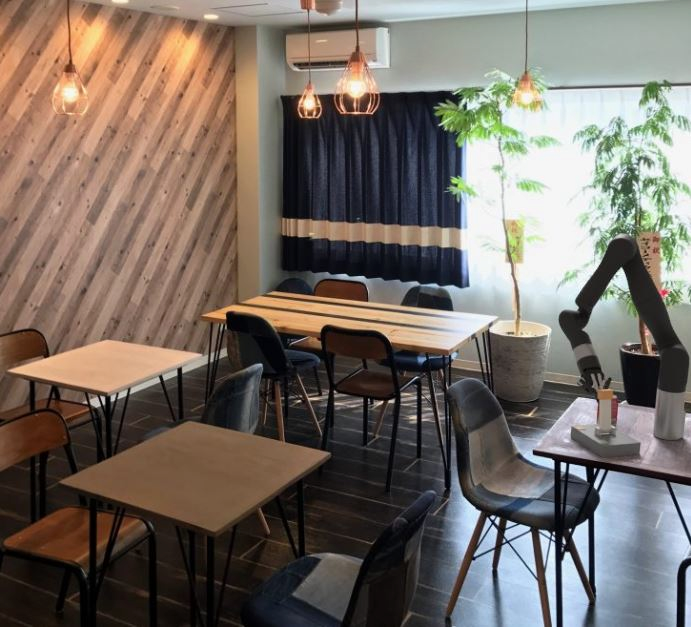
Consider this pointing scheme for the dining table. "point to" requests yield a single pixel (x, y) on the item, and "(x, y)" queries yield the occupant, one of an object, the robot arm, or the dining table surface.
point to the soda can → (613, 411)
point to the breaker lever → (605, 409)
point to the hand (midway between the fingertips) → (602, 403)
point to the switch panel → (605, 441)
